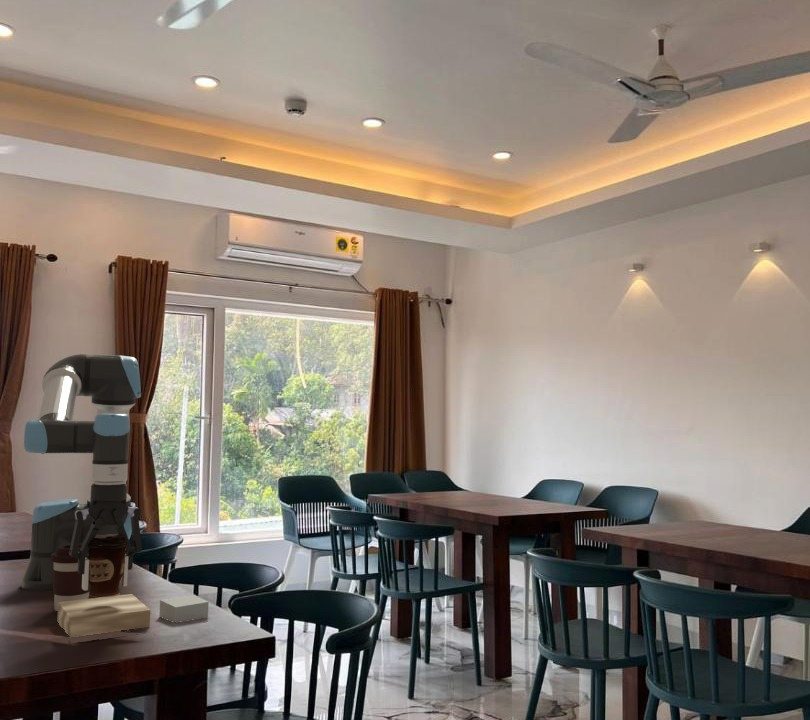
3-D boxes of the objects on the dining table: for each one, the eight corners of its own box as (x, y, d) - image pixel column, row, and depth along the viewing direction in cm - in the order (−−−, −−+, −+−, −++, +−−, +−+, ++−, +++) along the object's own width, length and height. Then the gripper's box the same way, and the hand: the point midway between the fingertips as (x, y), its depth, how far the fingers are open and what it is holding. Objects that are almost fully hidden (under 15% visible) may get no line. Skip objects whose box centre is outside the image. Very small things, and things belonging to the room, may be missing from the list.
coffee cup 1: (102, 606, 186) (105, 544, 187) (72, 617, 177) (75, 551, 178) (69, 602, 190) (72, 541, 191) (38, 612, 180) (41, 548, 181)
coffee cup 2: (110, 601, 163) (113, 539, 164) (75, 598, 165) (78, 537, 166) (132, 592, 172) (135, 533, 172) (99, 589, 173) (102, 531, 174)
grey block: (159, 622, 175) (160, 600, 176) (191, 616, 181) (192, 594, 181) (174, 630, 169) (175, 607, 170) (207, 624, 175) (208, 601, 175)
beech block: (56, 624, 171) (58, 602, 171) (130, 615, 179) (131, 594, 180) (70, 644, 157) (71, 619, 158) (149, 633, 166) (150, 609, 166)
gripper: (62, 486, 162) (57, 596, 160) (160, 482, 173) (156, 585, 171) (56, 482, 168) (51, 588, 166) (151, 479, 179) (147, 578, 178)
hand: (104, 586), depth 169 cm, fingers closed on coffee cup 2, 7 cm apart
